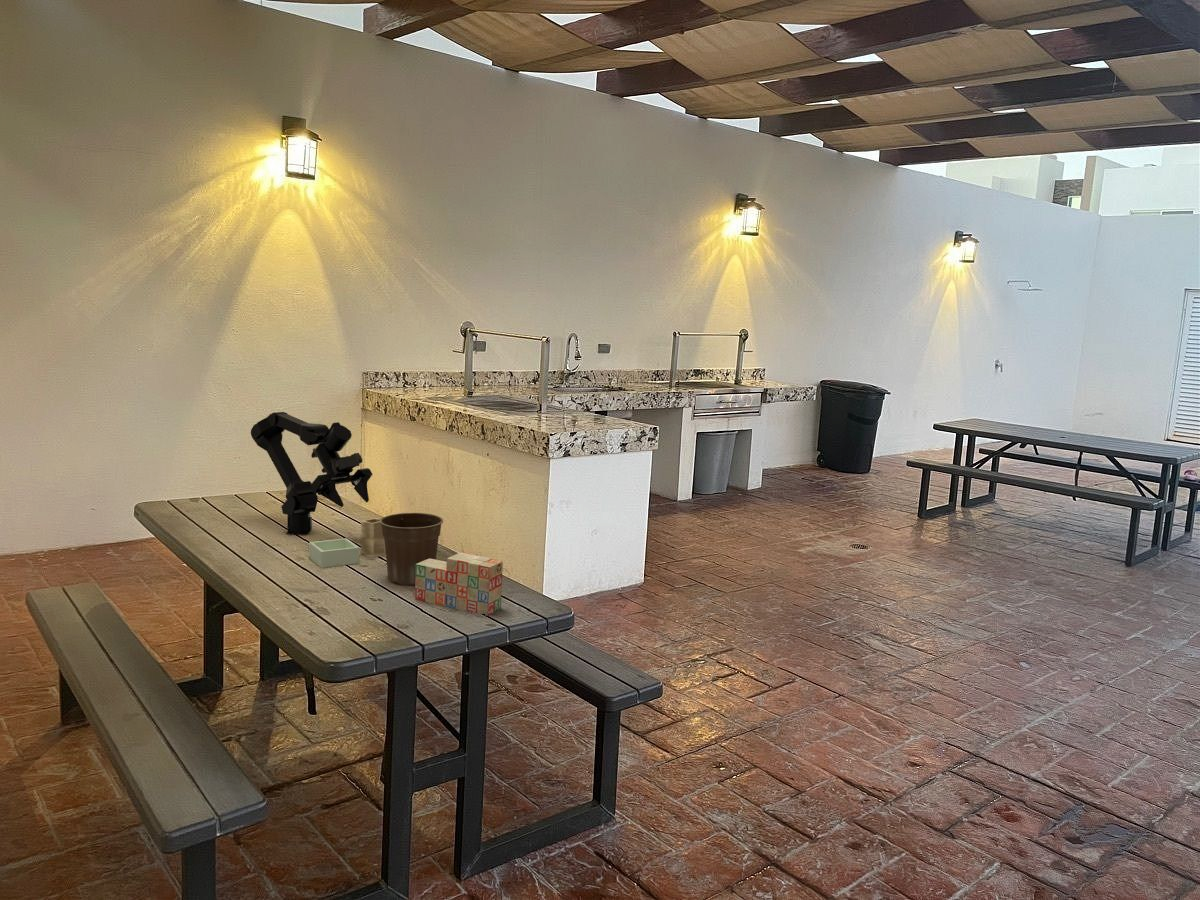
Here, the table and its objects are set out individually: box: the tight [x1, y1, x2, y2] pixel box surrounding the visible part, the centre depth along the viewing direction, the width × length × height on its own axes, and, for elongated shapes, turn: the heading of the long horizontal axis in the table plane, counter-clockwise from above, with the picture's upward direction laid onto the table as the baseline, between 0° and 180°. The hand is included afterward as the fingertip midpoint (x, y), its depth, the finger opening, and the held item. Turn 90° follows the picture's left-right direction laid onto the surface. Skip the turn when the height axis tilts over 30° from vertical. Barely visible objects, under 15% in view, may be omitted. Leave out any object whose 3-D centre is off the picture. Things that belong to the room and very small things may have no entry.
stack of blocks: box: [414, 552, 504, 616], centre depth 224 cm, size 21×6×12 cm, turn 65°
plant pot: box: [379, 512, 444, 586], centre depth 241 cm, size 16×16×16 cm
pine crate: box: [360, 517, 386, 559], centre depth 262 cm, size 5×5×10 cm
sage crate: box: [308, 538, 360, 569], centre depth 255 cm, size 11×11×4 cm
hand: (355, 503), depth 266 cm, fingers open, 9 cm apart
